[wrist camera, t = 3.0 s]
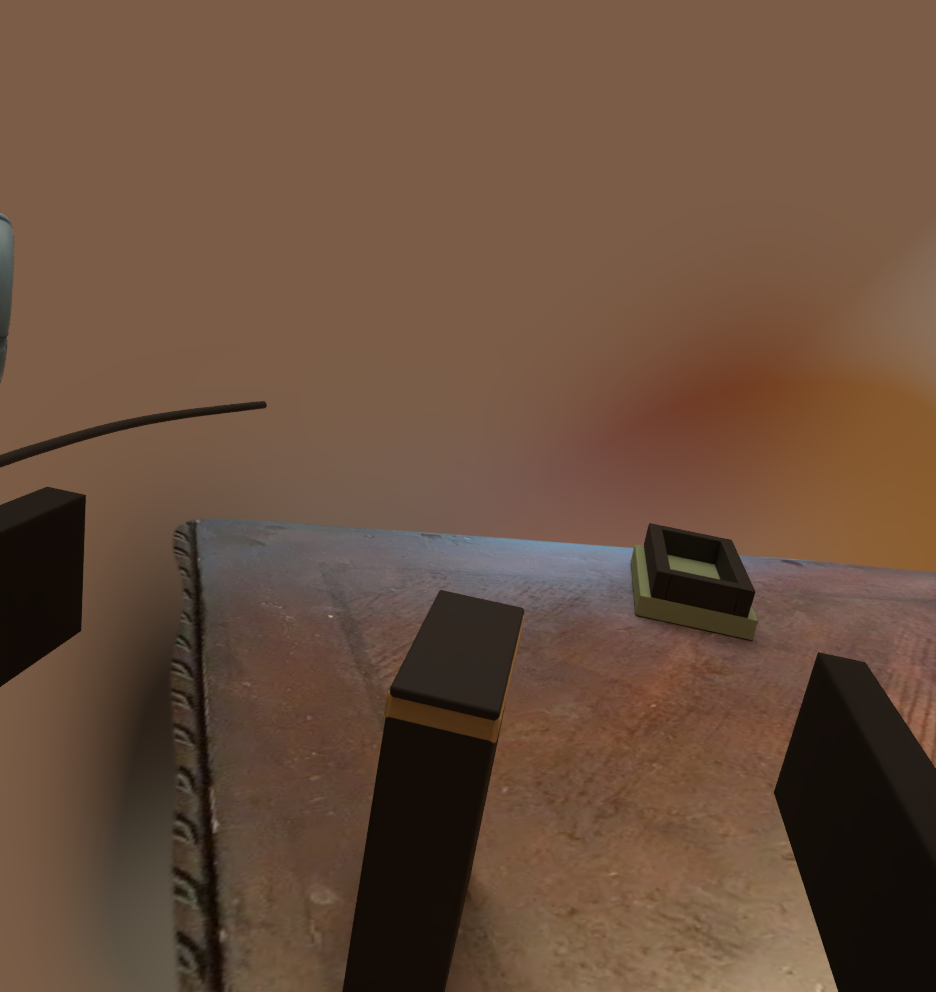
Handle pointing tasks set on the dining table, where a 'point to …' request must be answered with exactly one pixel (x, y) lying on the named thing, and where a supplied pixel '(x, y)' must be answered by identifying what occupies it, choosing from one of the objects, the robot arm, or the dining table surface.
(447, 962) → the dark brown banded block
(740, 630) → the black and green tray
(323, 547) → the dining table surface
